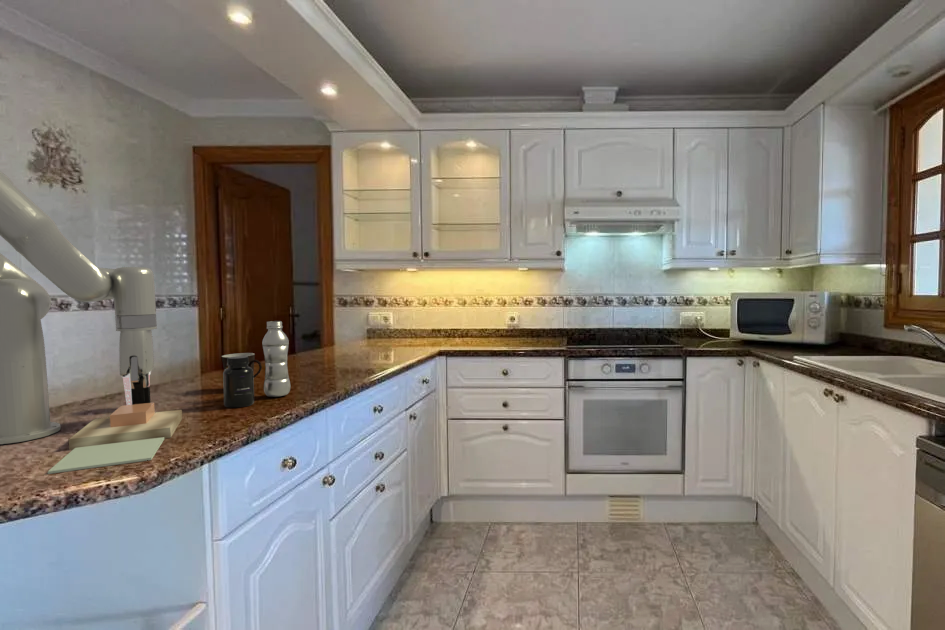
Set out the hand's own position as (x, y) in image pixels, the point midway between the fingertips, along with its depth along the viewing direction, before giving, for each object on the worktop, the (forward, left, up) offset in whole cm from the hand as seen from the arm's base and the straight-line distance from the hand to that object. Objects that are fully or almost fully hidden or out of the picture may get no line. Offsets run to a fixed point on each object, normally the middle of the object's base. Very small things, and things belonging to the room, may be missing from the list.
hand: (141, 405), depth 111 cm
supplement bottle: (+20, +6, -4) cm, 21 cm away
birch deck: (0, -10, -3) cm, 11 cm away
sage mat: (0, -25, -3) cm, 26 cm away
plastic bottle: (+29, +12, -4) cm, 31 cm away
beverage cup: (-3, +15, -4) cm, 15 cm away
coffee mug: (+20, +26, -4) cm, 32 cm away
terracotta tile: (0, -8, -1) cm, 8 cm away
